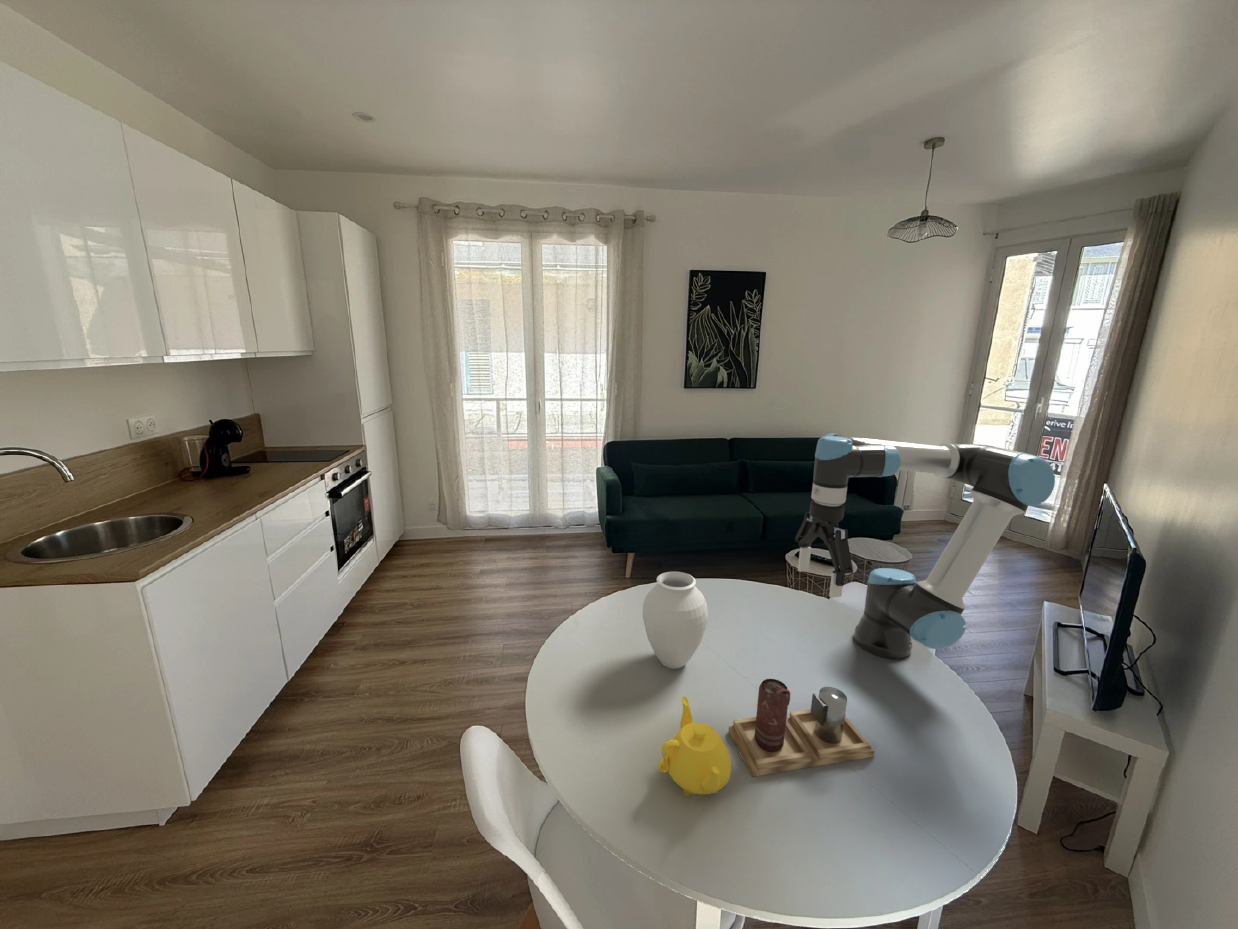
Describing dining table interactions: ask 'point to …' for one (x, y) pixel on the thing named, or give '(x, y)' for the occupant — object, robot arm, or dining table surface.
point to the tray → (797, 745)
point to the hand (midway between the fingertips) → (818, 583)
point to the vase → (675, 618)
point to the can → (771, 714)
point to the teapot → (696, 757)
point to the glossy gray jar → (829, 714)
